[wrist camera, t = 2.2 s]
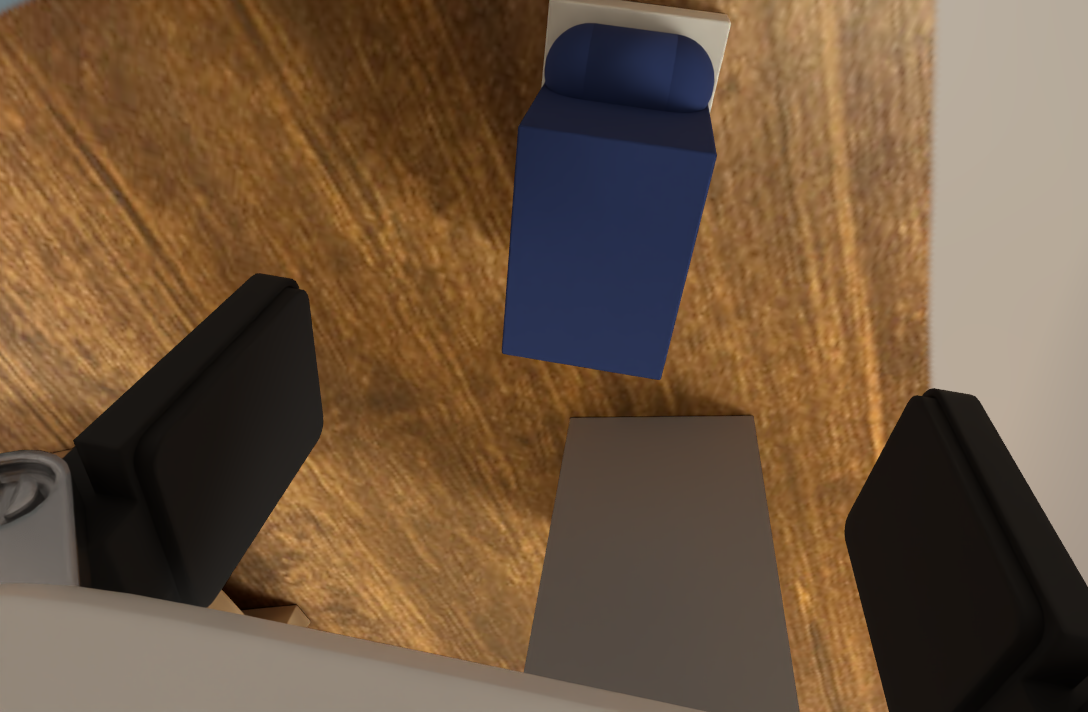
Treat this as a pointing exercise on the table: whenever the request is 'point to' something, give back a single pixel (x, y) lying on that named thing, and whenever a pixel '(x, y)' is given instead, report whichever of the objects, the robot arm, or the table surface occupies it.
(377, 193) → the table surface
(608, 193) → the high-top sneaker
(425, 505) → the table surface
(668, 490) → the perfume bottle
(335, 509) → the table surface
